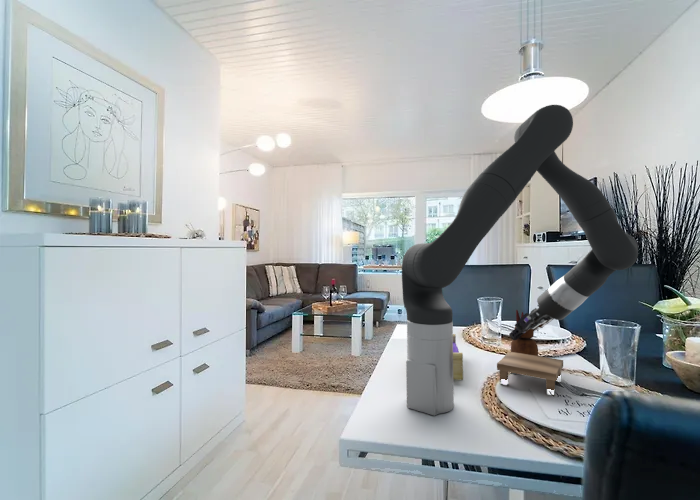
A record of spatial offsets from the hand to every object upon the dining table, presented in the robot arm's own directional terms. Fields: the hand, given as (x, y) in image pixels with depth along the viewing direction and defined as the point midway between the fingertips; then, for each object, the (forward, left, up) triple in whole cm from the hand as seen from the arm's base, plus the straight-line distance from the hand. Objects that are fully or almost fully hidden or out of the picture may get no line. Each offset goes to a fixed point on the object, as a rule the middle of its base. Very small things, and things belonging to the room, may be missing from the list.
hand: (517, 336), depth 96 cm
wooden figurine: (-1, -2, -8) cm, 8 cm away
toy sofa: (-14, +16, -8) cm, 23 cm away
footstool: (-14, -6, -8) cm, 17 cm away
